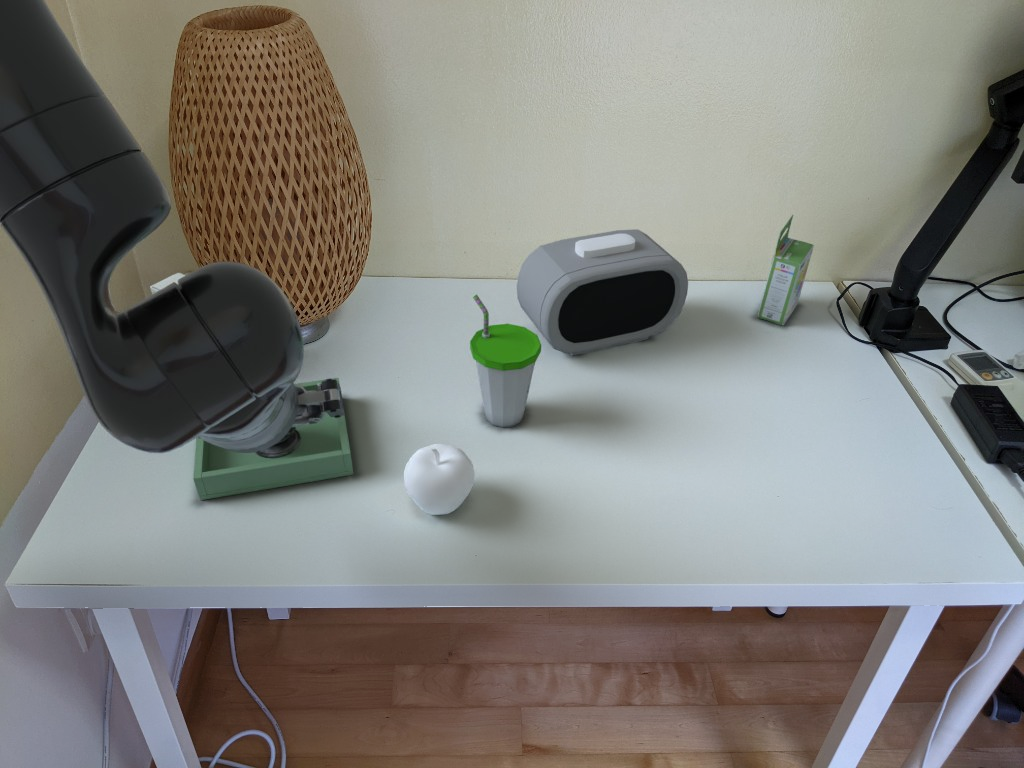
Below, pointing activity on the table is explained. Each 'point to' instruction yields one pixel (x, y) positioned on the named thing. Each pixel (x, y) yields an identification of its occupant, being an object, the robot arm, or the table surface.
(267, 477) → the tray
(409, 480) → the plain white apple
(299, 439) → the chess piece
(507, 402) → the cup
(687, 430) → the table surface
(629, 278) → the alarm clock
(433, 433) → the table surface
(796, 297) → the ink box
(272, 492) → the table surface
